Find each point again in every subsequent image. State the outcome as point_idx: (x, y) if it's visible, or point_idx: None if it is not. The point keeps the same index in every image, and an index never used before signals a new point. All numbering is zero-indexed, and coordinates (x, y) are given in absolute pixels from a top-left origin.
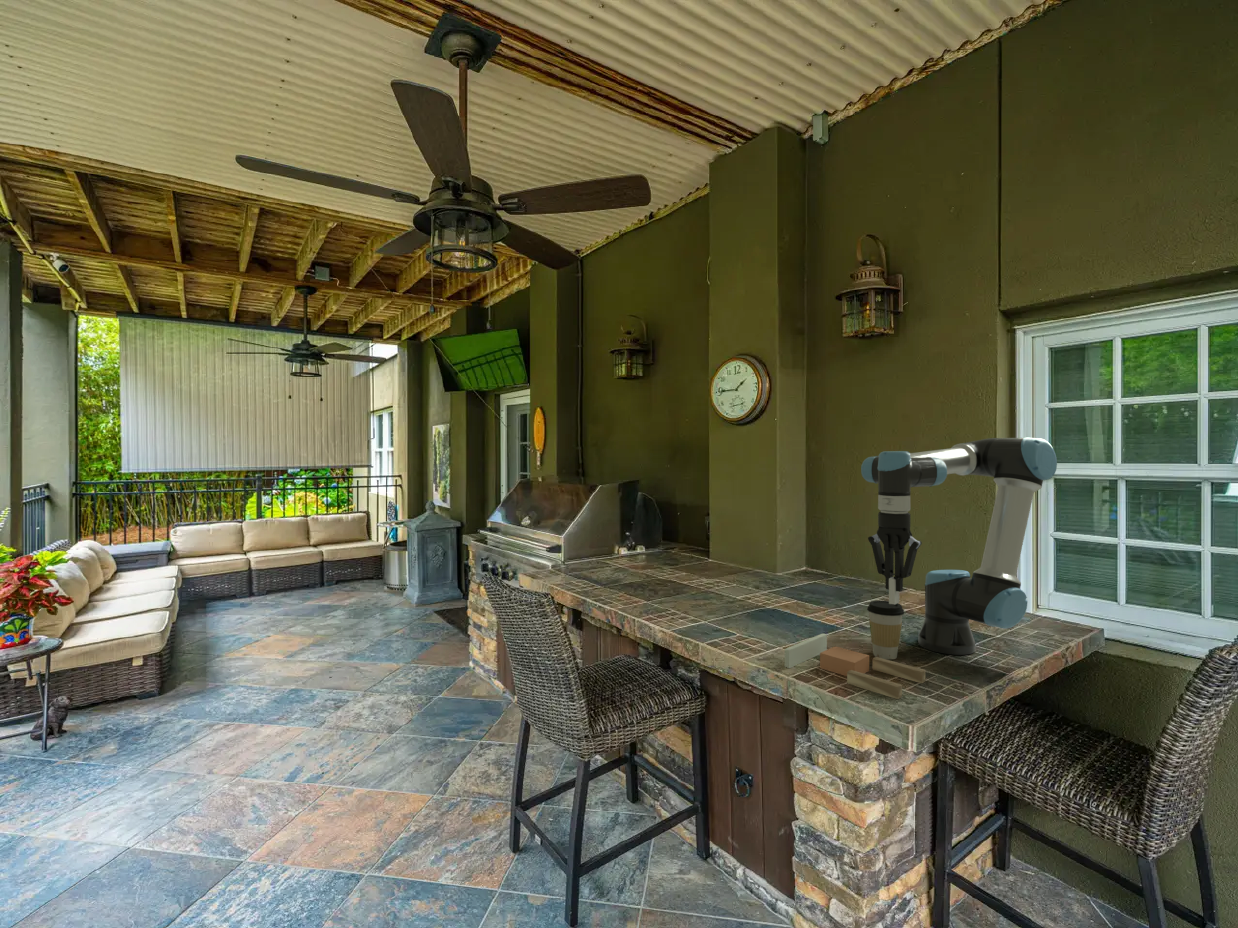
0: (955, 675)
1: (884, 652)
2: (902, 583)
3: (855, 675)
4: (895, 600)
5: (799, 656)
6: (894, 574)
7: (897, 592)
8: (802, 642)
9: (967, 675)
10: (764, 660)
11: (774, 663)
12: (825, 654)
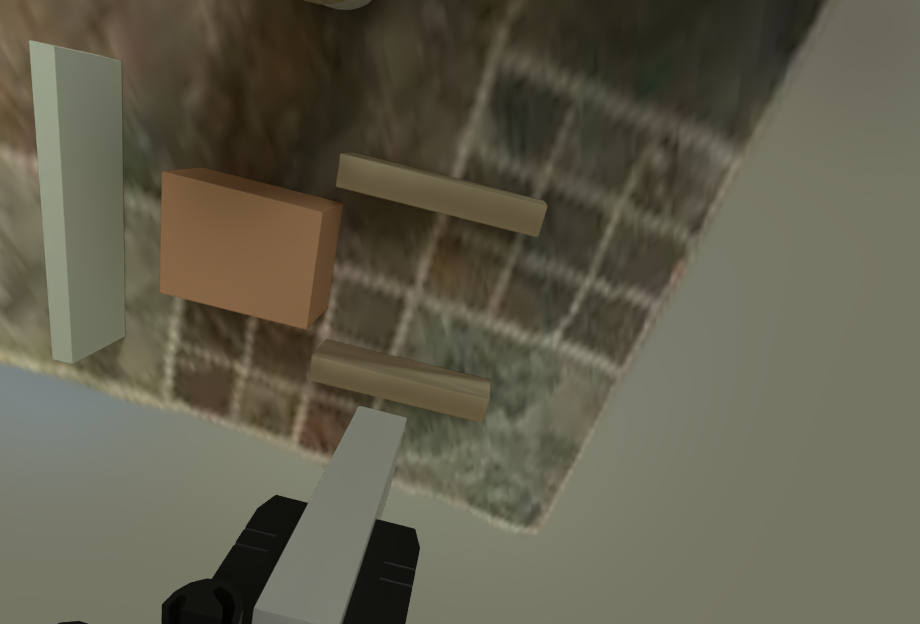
0: (651, 50)
1: (344, 4)
2: (406, 612)
3: (339, 385)
4: (386, 495)
5: (103, 281)
6: (242, 613)
7: (378, 516)
8: (50, 244)
9: (701, 15)
10: (25, 310)
11: None
12: (184, 298)
